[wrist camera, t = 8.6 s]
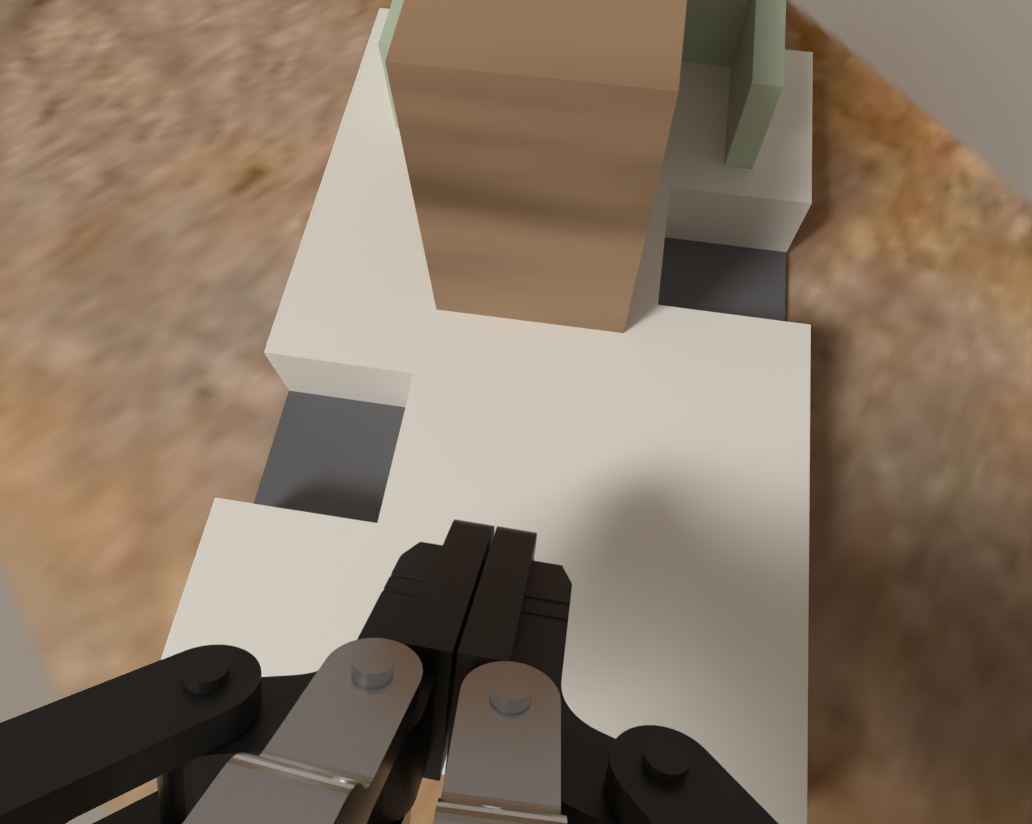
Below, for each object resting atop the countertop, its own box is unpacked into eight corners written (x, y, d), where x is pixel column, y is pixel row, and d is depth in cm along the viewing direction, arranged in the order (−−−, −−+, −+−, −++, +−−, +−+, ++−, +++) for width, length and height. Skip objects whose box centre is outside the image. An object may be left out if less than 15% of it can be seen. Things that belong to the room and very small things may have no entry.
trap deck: (770, 829, 17) (868, 859, 12) (188, 723, 19) (61, 712, 14) (788, 113, 26) (849, -38, 21) (391, 70, 27) (361, -83, 22)
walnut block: (623, 333, 20) (678, 91, 13) (436, 309, 20) (385, 61, 13) (654, 58, 24) (709, -245, 17) (497, 43, 24) (483, -260, 17)
